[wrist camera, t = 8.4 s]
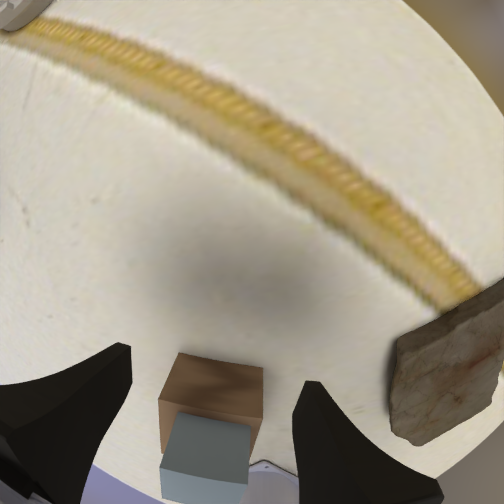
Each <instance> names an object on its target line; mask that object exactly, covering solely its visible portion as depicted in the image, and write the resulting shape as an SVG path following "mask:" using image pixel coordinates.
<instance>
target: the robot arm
mask: <svg viewBox="0 0 504 504" xmlns="http://www.w3.org/2000/svg"><path fill="white" fill-rule="evenodd" d="M132 382H133V381H132V363H131V346H129V345H126V344H122V343H119V342H117V343H115V344H113V345H111V346H110V347H108V348H106V349H104V350H103V351H101V352H99V353H97V354H95V355H93V356H92V357H90V358H88V359H86V360H84V361H82V362H80V363H78V364H76V365H74V366H72V367H69V368H67V369H65V370H63V371H60V372H58V373H55V374H52V375H49V376H46V377H43V378H40V379H36V380H31V381H27V382H23V383H17V384H9V385H0V504H80V501H81V497H82V493H83V490H84V487H85V483H86V480H87V477H88V474H89V471H90V468H91V465H92V463H93V460H94V457H95V455H96V452H97V450H98V448H99V445H100V443H101V441H102V439H103V437H104V435H105V434H106V432H107V430H108V429H109V427H110V425H111V424H112V422H113V420H114V418H115V417H116V415H117V413H118V412H119V410H120V408H121V407H122V405H123V403H124V401H125V399H126V397H127V395H128V392H129V390H130V387H131V385H132ZM292 435H293V442H294V449H295V456H296V463H297V470H298V477H296V476H294V475H292V474H290V473H288V472H286V471H284V470H282V469H280V468H278V467H276V466H274V465H272V464H270V463H269V462H266V461H262V462H259V463H257V464H255V465H252V466H250V467H249V475H248V486H247V488H246V490H245V492H244V494H243V496H242V498H241V500H240V502H239V504H441V503H442V501H443V499H444V495H443V493H442V490H441V488H440V486H439V484H438V482H437V480H436V479H433V478H431V477H428V476H426V475H423V474H421V473H419V472H416V471H414V470H412V469H411V468H409V467H407V466H405V465H403V464H401V463H400V462H398V461H397V460H395V459H393V458H392V457H391V456H389V455H388V454H386V453H385V452H383V451H382V450H381V449H379V448H378V447H377V446H376V445H375V444H373V443H372V442H371V441H370V440H369V439H368V438H367V437H366V436H364V435H363V434H362V433H361V432H360V431H359V430H358V428H357V427H356V426H355V425H354V424H353V423H352V422H351V421H350V420H349V419H348V417H347V416H346V415H345V414H344V413H343V411H342V410H341V409H340V408H339V406H338V405H337V404H336V403H335V401H334V400H333V399H332V397H331V396H330V395H329V393H328V392H327V391H326V389H325V388H324V386H323V385H322V384H321V383H320V382H318V381H307V380H306V381H305V384H304V386H303V389H302V391H301V394H300V396H299V399H298V401H297V404H296V406H295V409H294V411H293V414H292Z"/></svg>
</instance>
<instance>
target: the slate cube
mask: <svg viewBox="0 0 504 504" xmlns="http://www.w3.org/2000/svg"><path fill="white" fill-rule="evenodd" d="M250 436H251V426H249V425H242V424H236V423H230V422H224V421H219V420H213V419H208V418H204V417H199V416H194V415H190V414H186V413H182V412H178V413H177V416H176V419H175V422H174V425H173V428H172V431H171V434H170V437H169V440H168V443H167V446H166V449H165V452H164V455H163V458H162V461H161V464H160V467H159V468H160V481H161V492H162V498H163V499H167V500H171V501H175V502H179V503H183V504H239V502H240V500H241V498H242V496H243V494H244V492H245V490H246V488H247V486H248V475H249V455H250Z"/></svg>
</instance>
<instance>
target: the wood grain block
mask: <svg viewBox="0 0 504 504" xmlns="http://www.w3.org/2000/svg"><path fill="white" fill-rule="evenodd" d="M158 405H159V425H160V440H161V453H162V454H164V452H165V449H166V446H167V443H168V440H169V437H170V434H171V431H172V428H173V425H174V422H175V419H176V416H177V413H178V412H182V413H186V414H190V415H194V416H199V417H204V418H208V419H213V420H219V421H224V422H230V423H236V424H242V425H249V426H251V436H250V455H249V460H250V457H251V454H252V451H253V448H254V445H255V441H256V438H257V435H258V432H259V429H260V426H261V423H262V419H263V368H261V367H254V366H247V365H241V364H235V363H229V362H223V361H218V360H212V359H207V358H202V357H197V356H192V355H187V354H183V353H178V356H177V358H176V360H175V362H174V364H173V367H172V369H171V371H170V373H169V376H168V378H167V380H166V383H165V385H164V387H163V389H162V392H161V394H160V396H159V398H158Z"/></svg>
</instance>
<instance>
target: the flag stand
mask: <svg viewBox="0 0 504 504" xmlns="http://www.w3.org/2000/svg"><path fill="white" fill-rule="evenodd" d="M51 2H52V0H0V29H1V28H2V29H4V30H7V31H15V30H18V29H19V28H21V27H23V26H25V25H26V24H28V23H29V22H30V21H31V20H33V19H34V18H35V17H36V16H37V15H39V14H40V13H41V12H42V11H43V10H44V9H45V8H46V7H47V6H48V5H49V4H50V3H51Z"/></svg>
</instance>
